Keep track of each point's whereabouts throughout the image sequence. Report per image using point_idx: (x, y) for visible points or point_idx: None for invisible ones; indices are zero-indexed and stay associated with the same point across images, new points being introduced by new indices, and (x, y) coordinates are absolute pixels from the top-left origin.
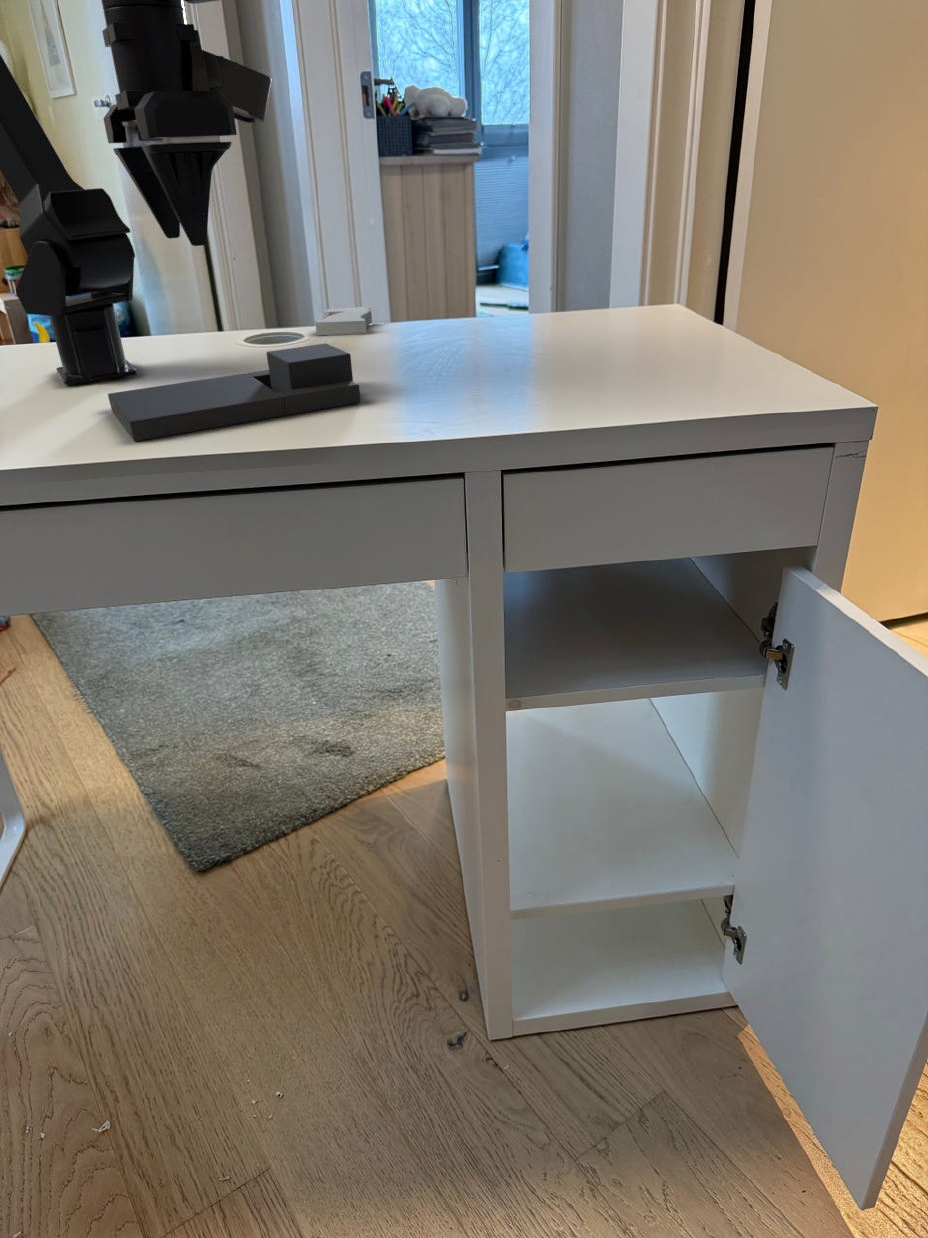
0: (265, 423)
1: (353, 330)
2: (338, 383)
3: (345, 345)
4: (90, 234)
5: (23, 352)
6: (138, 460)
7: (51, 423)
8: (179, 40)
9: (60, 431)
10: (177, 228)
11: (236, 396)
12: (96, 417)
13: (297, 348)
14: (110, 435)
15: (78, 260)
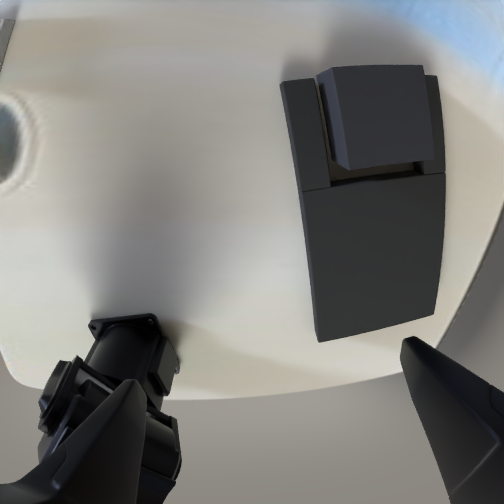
0: None
1: (7, 35)
2: None
3: (65, 36)
4: (145, 471)
5: (35, 381)
6: (464, 297)
7: (324, 367)
8: None
9: (355, 358)
10: (132, 394)
11: (417, 220)
12: None
13: (351, 119)
14: None
15: (176, 455)
